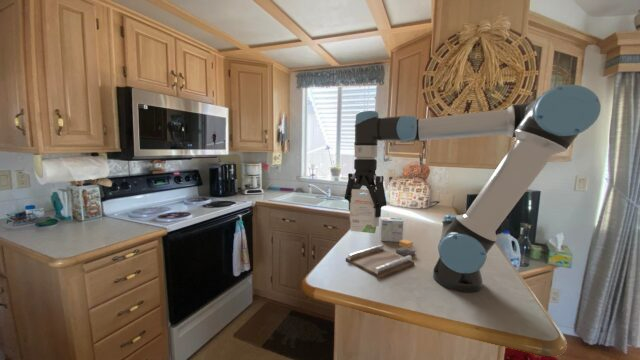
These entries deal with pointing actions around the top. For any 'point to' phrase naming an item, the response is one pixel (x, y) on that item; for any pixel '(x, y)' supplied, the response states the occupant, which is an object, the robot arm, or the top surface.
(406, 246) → the snap latch
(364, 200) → the ink box
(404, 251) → the latch housing
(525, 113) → the robot arm
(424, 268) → the top surface
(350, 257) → the steel rails
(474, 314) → the top surface
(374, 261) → the rail board
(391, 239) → the light bulb box
